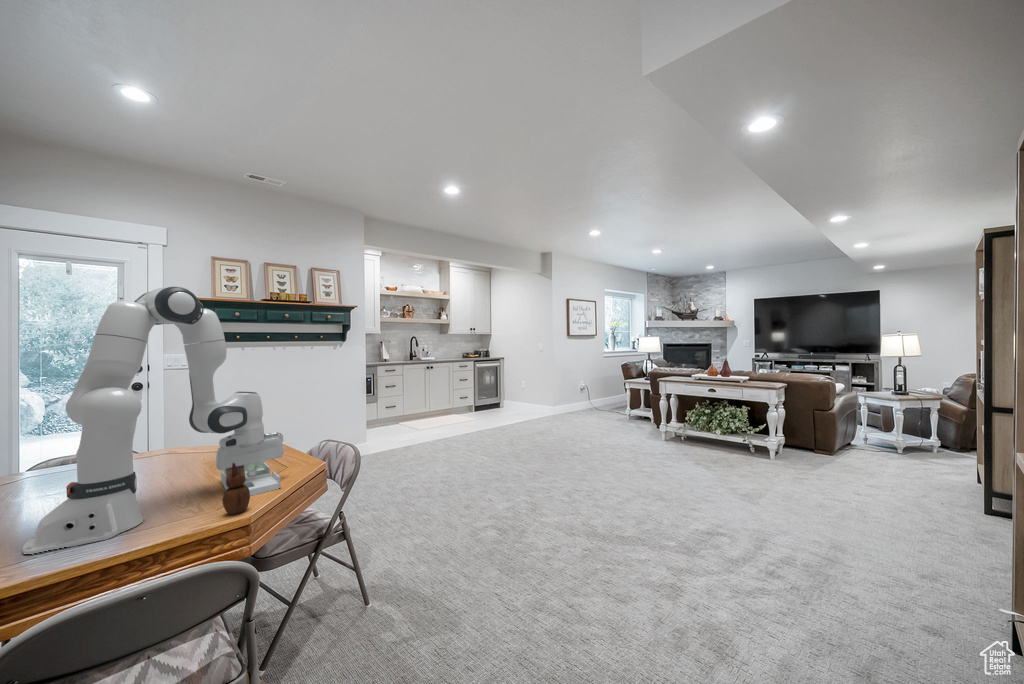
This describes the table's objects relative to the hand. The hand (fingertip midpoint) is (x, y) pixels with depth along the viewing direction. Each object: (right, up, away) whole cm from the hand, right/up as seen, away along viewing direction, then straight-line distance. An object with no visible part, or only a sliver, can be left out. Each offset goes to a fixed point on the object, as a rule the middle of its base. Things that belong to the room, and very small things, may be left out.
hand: (252, 475), depth 146 cm
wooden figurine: (+11, -3, -25) cm, 27 cm away
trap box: (-1, -3, 0) cm, 4 cm away
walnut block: (-4, -1, -2) cm, 5 cm away
